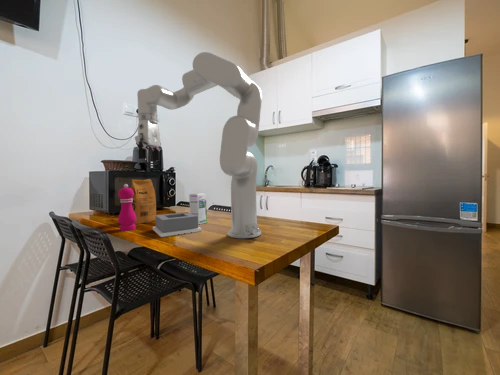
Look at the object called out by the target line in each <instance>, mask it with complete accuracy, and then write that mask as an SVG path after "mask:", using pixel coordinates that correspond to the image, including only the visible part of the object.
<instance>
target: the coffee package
mask: <svg viewBox="0 0 500 375" xmlns="http://www.w3.org/2000/svg"><path fill="white" fill-rule="evenodd" d="M130 180H131V181H130V182H131V184H132V185H131V187H130V188H131V189H132V190H133V191H134V195H133V197H132V199H133V202H132V208H133V211H134V213H135V215H136V219H137V220H136V222H135V223H134V224H135V225H140V224H141V225H142V224H145V223H147V224H148V223H151V222H156V220H155V215H157V200H156V192H155V191H156V190H155V187H154V186H153V185H154V184H153V182H152V179H150V178H149V179H130Z"/></svg>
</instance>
